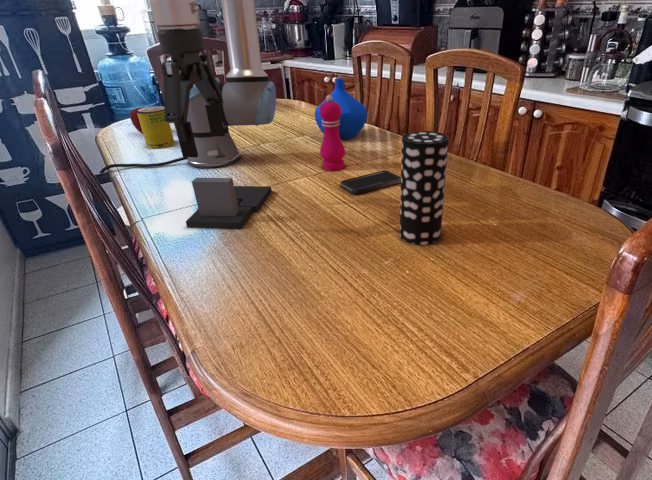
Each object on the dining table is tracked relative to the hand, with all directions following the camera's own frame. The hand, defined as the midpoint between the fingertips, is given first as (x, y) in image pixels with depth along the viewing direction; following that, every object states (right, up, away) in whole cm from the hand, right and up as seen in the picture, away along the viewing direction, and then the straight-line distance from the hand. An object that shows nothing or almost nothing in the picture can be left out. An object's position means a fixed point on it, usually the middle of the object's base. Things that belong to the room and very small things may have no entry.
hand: (205, 145), depth 85 cm
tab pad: (0, -14, +10) cm, 17 cm away
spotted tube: (+44, -18, 0) cm, 47 cm away
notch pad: (+1, -9, +17) cm, 19 cm away
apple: (-49, +23, +73) cm, 91 cm away
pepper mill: (+23, +3, +37) cm, 44 cm away
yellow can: (-38, +15, +60) cm, 73 cm away
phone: (+34, -4, +24) cm, 42 cm away
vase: (+24, +20, +65) cm, 72 cm away
